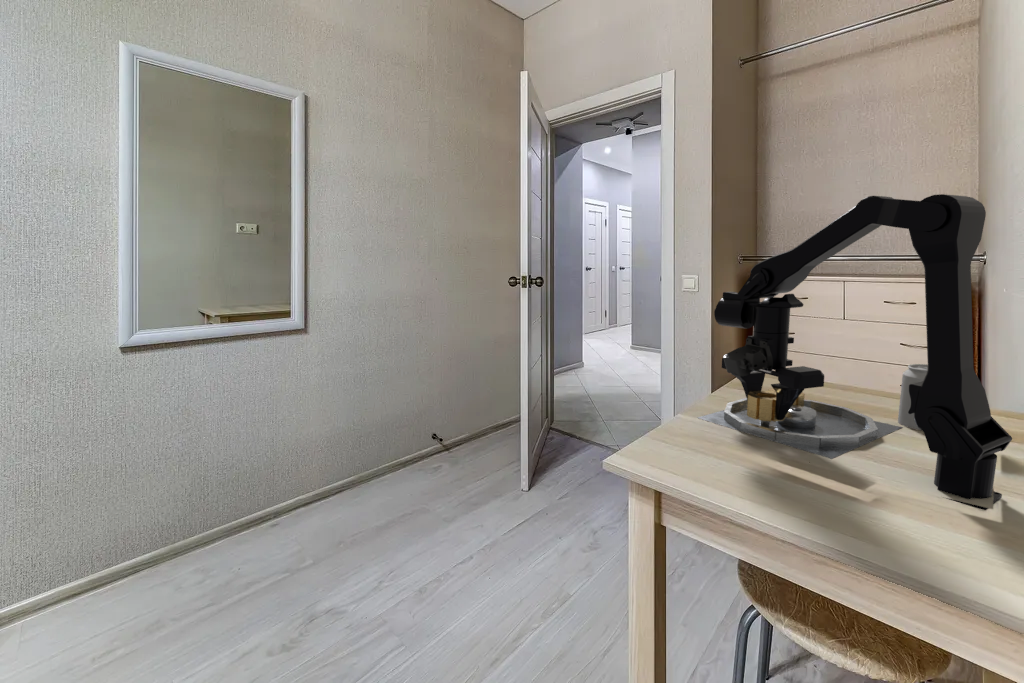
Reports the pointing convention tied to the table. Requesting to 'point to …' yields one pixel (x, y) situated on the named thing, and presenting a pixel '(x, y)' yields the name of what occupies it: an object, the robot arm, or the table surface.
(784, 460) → the table surface
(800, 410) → the domed metal knob cap
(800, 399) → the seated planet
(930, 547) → the table surface
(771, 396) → the hollow octagonal wooden tube
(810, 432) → the tray
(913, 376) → the can
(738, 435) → the table surface
